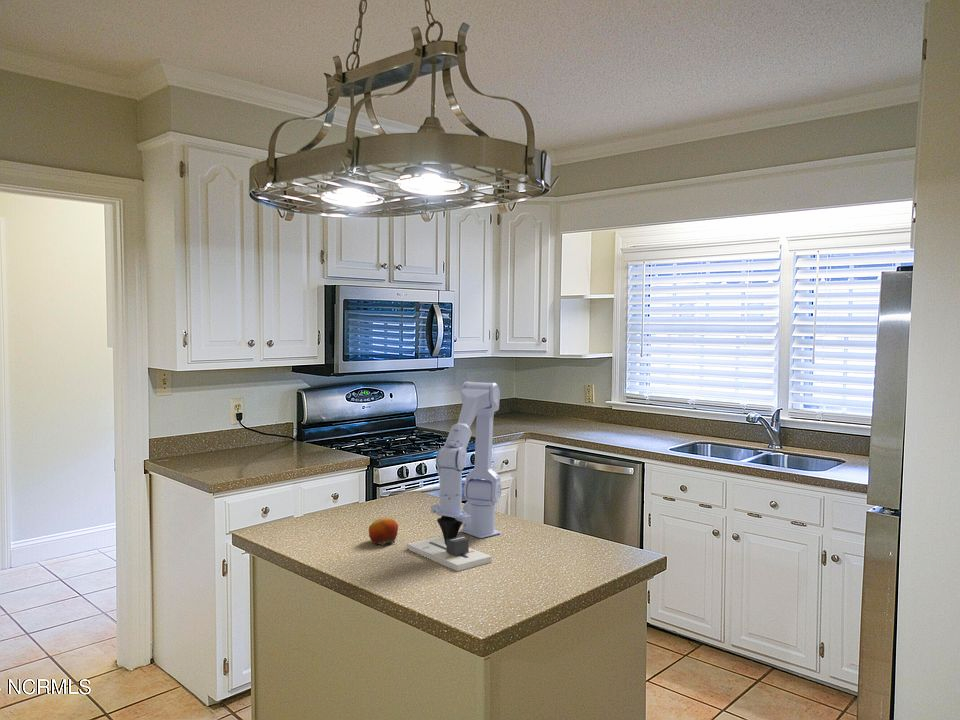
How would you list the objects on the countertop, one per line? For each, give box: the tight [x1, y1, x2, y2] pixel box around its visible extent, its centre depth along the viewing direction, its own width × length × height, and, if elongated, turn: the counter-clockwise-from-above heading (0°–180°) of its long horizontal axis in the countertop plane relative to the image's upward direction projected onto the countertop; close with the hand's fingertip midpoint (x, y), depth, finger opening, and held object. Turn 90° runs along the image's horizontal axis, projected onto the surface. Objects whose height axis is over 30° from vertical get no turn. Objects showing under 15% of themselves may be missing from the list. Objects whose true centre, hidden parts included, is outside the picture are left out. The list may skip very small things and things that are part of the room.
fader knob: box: [446, 535, 470, 556], centre depth 187 cm, size 4×4×4 cm
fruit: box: [368, 517, 399, 546], centre depth 201 cm, size 8×8×8 cm
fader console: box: [406, 536, 493, 572], centre depth 190 cm, size 22×11×2 cm, turn 40°
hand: (450, 545), depth 189 cm, fingers closed
